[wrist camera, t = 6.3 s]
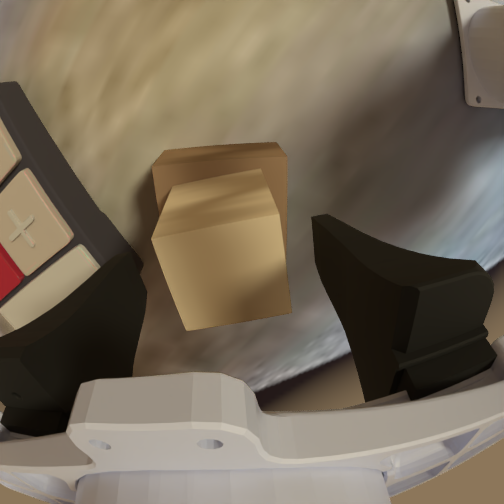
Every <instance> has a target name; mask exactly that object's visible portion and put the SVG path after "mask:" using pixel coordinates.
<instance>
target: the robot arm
mask: <svg viewBox="0 0 504 504" xmlns="http://www.w3.org/2000/svg"><path fill="white" fill-rule="evenodd" d="M454 4H455V9H456V15H457V21H458V27H459V34H460V41H461V49H462V59H463V70H464V84H465V100H466V103H467V104H468V105H470V106H473V107H488V108H500V109H504V5H501V4H498V3H495V2H493V1H490V0H467V2H466V1H465V0H454ZM476 97H477V98H478V100H477V101H476ZM311 219H312V230H313V242H314V255H315V263H316V266H317V269H318V273H319V276H320V279H321V281H322V284H323V286H324V288H325V290H326V292H327V294H328V296H329V298H330V300H331V302H332V304H333V306H334V308H335V310H336V313H337V315H338V317H339V319H340V321H341V323H342V325H343V328H344V330H345V333H346V336H347V339H348V342H349V345H350V348H351V351H352V354H353V358H354V361H355V365H356V368H357V372H358V375H359V379H360V383H361V387H362V391H363V394H364V399H365V403H362V404H359V405H355V406H351V407H347V408H343V409H333V410H316V411H261V410H260V408H259V407H258V403H257V400H256V397H255V394H254V392H253V391H252V390H251V389H250V388H249V387H248V386H247V385H246V384H245V382H244V381H242V380H240V379H237V378H234V377H231V376H229V375H226V374H223V373H220V372H199V371H194V372H185V373H175V374H165V375H153V376H141V377H132V373H133V363H134V358H135V353H136V349H137V344H138V340H139V336H140V332H141V328H142V324H143V320H144V315H145V309H146V299H147V290H146V288H145V286H144V283H143V281H142V279H141V276H140V274H139V272H138V269H137V267H136V264H135V262H134V260H133V257H132V255H131V252H126V253H121V254H117V255H115V256H114V257H112V258H111V259H110V260H108V261H107V262H106V263H105V264H104V265H103V266H101V267H100V268H99V269H98V270H97V271H96V272H95V273H94V274H92V275H91V276H90V277H89V278H88V279H87V280H86V281H85V282H84V283H82V284H81V285H80V286H79V287H78V288H77V289H75V290H74V291H73V292H72V293H71V294H70V295H68V296H67V297H66V298H65V299H63V300H62V301H61V302H60V303H58V304H57V305H55V306H54V307H53V308H51V309H50V310H49V311H47V312H45V313H44V314H42V315H41V316H39V317H38V318H36V319H35V320H33V321H31V322H30V323H28V324H26V325H24V326H22V327H21V328H19V329H17V330H15V331H13V332H11V333H9V334H6V335H4V336H2V337H0V401H1V402H2V403H3V404H4V405H5V406H6V408H5V410H4V413H2V412H1V411H0V484H2V485H4V486H5V487H7V488H10V489H12V490H15V491H18V492H20V493H23V494H25V495H28V496H31V497H33V498H36V499H39V500H42V501H45V502H48V503H51V504H391V501H390V497H392V496H395V495H397V494H400V493H402V492H404V491H407V490H409V489H411V488H414V487H416V486H418V485H420V484H422V483H424V482H427V481H429V480H431V479H433V478H435V477H436V476H439V475H441V474H443V473H445V472H447V471H449V470H450V469H452V468H454V467H456V466H458V465H460V464H461V463H463V462H465V461H466V460H468V459H470V458H472V457H473V456H475V455H477V454H478V453H480V452H482V451H483V450H485V449H487V448H488V447H490V446H492V445H493V444H495V443H496V442H498V441H499V440H501V439H502V438H504V335H503V336H501V337H499V338H498V339H496V340H495V341H494V342H493V343H492V344H491V345H490V344H489V342H488V341H487V339H486V337H487V336H488V331H487V329H486V328H485V326H484V325H483V323H484V320H485V317H486V315H487V312H488V310H489V307H490V304H491V301H492V297H493V293H494V283H493V280H492V278H491V276H490V275H489V274H488V273H487V272H486V271H485V270H484V269H483V268H482V267H481V266H480V265H479V264H478V263H477V262H476V261H475V260H463V259H450V258H443V257H436V256H431V255H426V254H421V253H417V252H413V251H409V250H406V249H402V248H399V247H396V246H393V245H390V244H388V243H385V242H382V241H380V240H378V239H375V238H373V237H371V236H369V235H367V234H364V233H362V232H360V231H358V230H356V229H355V228H353V227H351V226H349V225H347V224H345V223H343V222H342V221H340V220H338V219H336V218H334V217H332V216H330V215H328V214H324V215H318V216H313V217H311Z"/></svg>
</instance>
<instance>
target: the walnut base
mask: <svg viewBox="0 0 504 504" xmlns="http://www.w3.org/2000/svg"><path fill="white" fill-rule="evenodd" d="M255 169H261V170H262V173H263V175H264V178H265V180H266V182H267V185H268V187H269V190H270V192H271V195H272V197H273V199H274V202H275V204H276V207H277V209H278V212H279V215H280V222H281V230H282V237H283V244H284V252H285V260H286V242H287V155H286V154H285V153H284V152H283V150H282V149H281V148H280V146H279V145H278V144H277V142H267V143H245V144H229V145H215V146H203V147H192V148H182V149H172V150H164V152H163V153H162V154H161V155H160V157H159V158H158V159H157V160H156V162H155V163H154V164H153V166H152V173H153V179H154V186H155V192H156V199H157V205H158V211H159V217H160V215H161V213H162V210H163V208H164V206H165V203H166V201H167V198H168V196H169V194H170V191H171V189H172V187H173V186H176V185H181V184H185V183H190V182H194V181H199V180H204V179H208V178H213V177H218V176H223V175H228V174H233V173H239V172H244V171H249V170H255Z"/></svg>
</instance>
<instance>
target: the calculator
mask: <svg viewBox="0 0 504 504" xmlns="http://www.w3.org/2000/svg"><path fill="white" fill-rule="evenodd" d="M126 252H131V255H132V257H133V260H134V262H135V264H136V267H137V269H138V272H139V274H140V272H141V270H142V267H143V262H142V260H141V259H140V258H139V256H138V255H137V254H136V253H135V251H134V250H133V249H132V248H131V246H130V245H129V244H128V243H127V241H126V240H125V239H124V238H123V236H122V235H121V234H120V233H119V231H118V230H117V229H116V227H115V226H114V225H113V223H112V222H111V221H110V220H109V218H108V217H107V216H106V215H105V214H104V213H103V212H101V211H100V210H99V208H98V207H97V206H96V204H95V203H94V201H93V200H92V198H91V197H90V196H89V194H88V193H87V191H86V190H85V188H84V187H83V185H82V184H81V182H80V181H79V179H78V178H77V176H76V175H75V173H74V172H73V170H72V169H71V167H70V166H69V164H68V163H67V161H66V160H65V158H64V156H63V155H62V153H61V152H60V150H59V149H58V147H57V145H56V144H55V142H54V141H53V139H52V138H51V136H50V135H49V133H48V131H47V130H46V128H45V127H44V125H43V124H42V122H41V120H40V119H39V117H38V115H37V114H36V112H35V111H34V109H33V107H32V106H31V104H30V102H29V101H28V99H27V97H26V96H25V94H24V92H23V90H22V89H21V87H20V85H19V84H18V83H17V82H15V81H14V82H3V83H0V313H1V314H2V315H3V316H4V318H5V319H6V320H7V321H8V322H9V323H10V324H11V326H12V327H13V328H14V329H15V330H17V329H19V328H21V327H22V326H24V325H26V324H28V323H30V322H31V321H33V320H35V319H36V318H38V317H39V316H41V315H42V314H44V313H45V312H47V311H49V310H50V309H51V308H53V307H54V306H55V305H57V304H58V303H60V302H61V301H62V300H63V299H65V298H66V297H67V296H68V295H70V294H71V293H72V292H73V291H74V290H75V289H77V288H78V287H79V286H80V285H81V284H82V283H84V282H85V281H86V280H87V279H88V278H89V277H90V276H91V275H92V274H94V273H95V272H96V271H97V270H98V269H99V268H100V267H101V266H103V265H104V264H105V263H106V262H107V261H108V260H110V259H111V258H112V257H114V256H115V255H117V254H121V253H126Z"/></svg>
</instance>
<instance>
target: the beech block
mask: <svg viewBox="0 0 504 504" xmlns="http://www.w3.org/2000/svg"><path fill="white" fill-rule="evenodd" d="M151 240H152V243H153V246H154V249H155V252H156V254H157V257H158V260H159V263H160V265H161V268H162V271H163V274H164V276H165V279H166V281H167V284H168V287H169V289H170V292H171V294H172V297H173V300H174V302H175V305H176V307H177V310H178V312H179V315H180V317H181V319H182V322H183V324H184V327H185V329H186V331H190V330H197V329H204V328H210V327H216V326H222V325H228V324H234V323H240V322H246V321H252V320H257V319H263V318H268V317H273V316H278V315H284V314H289V313H292V308H291V300H290V292H289V284H288V275H287V268H286V260H285V252H284V244H283V237H282V230H281V222H280V215H279V212H278V209H277V207H276V204H275V202H274V199H273V197H272V195H271V192H270V190H269V187H268V185H267V182H266V180H265V178H264V175H263V173H262V170H261V169H255V170H249V171H244V172H239V173H233V174H228V175H223V176H218V177H213V178H208V179H204V180H199V181H194V182H190V183H185V184H181V185H176V186H173V187H172V189H171V191H170V194H169V196H168V198H167V201H166V203H165V206H164V208H163V210H162V213H161V215H160V218H159V220H158V223H157V225H156V228H155V230H154V233H153V235H152V238H151Z"/></svg>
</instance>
